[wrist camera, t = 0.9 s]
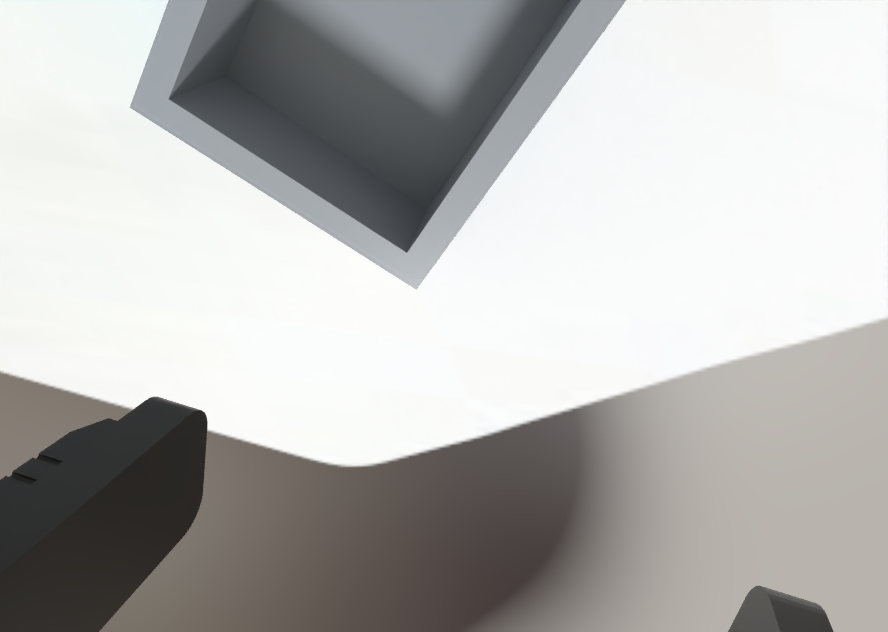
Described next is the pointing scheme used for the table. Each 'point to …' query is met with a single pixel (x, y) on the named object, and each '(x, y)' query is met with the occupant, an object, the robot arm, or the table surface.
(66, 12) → the table surface
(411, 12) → the gray crate
